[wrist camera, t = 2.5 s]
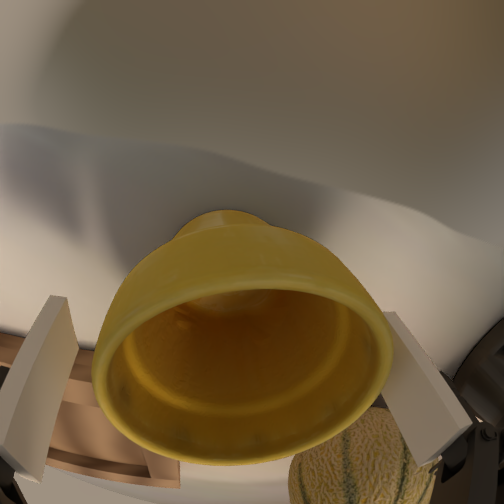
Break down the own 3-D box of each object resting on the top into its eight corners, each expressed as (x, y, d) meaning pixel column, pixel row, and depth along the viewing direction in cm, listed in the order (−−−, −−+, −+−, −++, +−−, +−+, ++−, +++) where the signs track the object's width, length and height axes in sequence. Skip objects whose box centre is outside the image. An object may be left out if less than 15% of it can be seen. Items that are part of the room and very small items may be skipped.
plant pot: (325, 307, 20) (385, 428, 11) (177, 348, 20) (172, 479, 11) (297, 152, 15) (404, 221, 7) (110, 210, 15) (23, 328, 7)
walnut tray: (173, 360, 21) (171, 392, 18) (179, 467, 29) (180, 488, 26) (-37, 321, 17) (-52, 343, 14) (30, 439, 25) (25, 457, 23)
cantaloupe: (397, 426, 31) (440, 517, 18) (287, 463, 31) (312, 566, 18) (413, 355, 24) (491, 483, 11) (260, 408, 24) (294, 567, 11)
